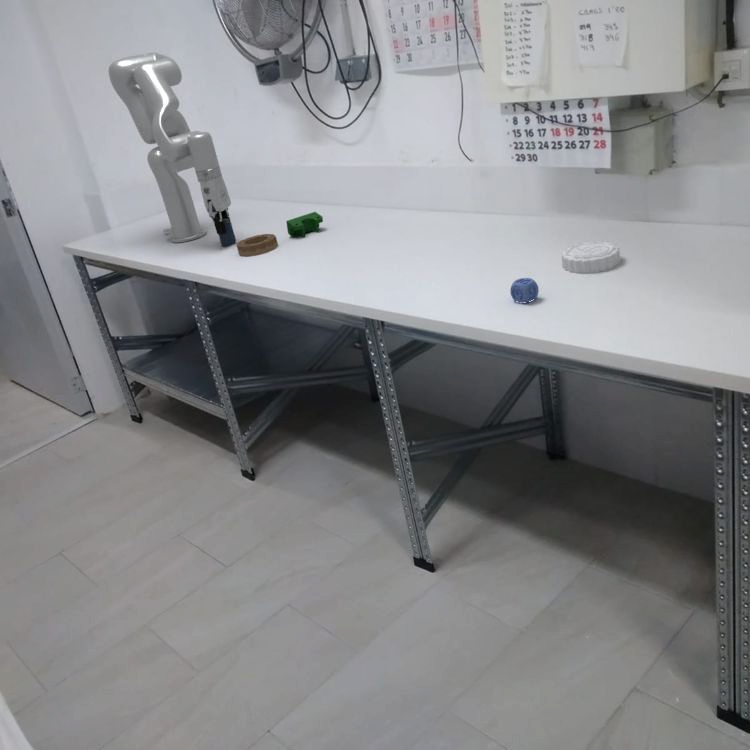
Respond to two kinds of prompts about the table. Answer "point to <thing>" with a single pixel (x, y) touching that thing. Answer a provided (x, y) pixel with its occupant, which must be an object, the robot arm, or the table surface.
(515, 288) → the decorative dice
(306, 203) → the table surface
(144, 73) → the robot arm
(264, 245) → the wooden ring
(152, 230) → the table surface
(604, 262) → the mooncake
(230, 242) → the vaping device
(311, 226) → the clamp
